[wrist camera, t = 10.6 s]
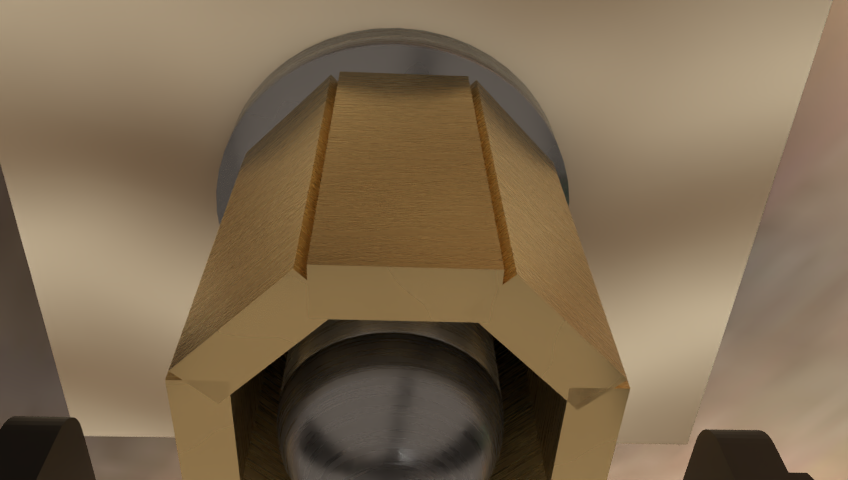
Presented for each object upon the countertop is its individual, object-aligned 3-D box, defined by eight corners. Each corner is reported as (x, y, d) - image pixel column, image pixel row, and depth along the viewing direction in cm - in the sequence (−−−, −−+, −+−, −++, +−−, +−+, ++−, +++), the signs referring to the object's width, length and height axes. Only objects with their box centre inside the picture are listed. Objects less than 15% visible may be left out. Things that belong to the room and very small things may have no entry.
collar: (235, 67, 14) (144, 260, 9) (569, 80, 14) (660, 273, 9) (257, 329, 17) (199, 577, 12) (529, 335, 18) (580, 579, 13)
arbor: (208, 21, 15) (45, 281, 8) (585, 34, 15) (736, 297, 8) (239, 317, 18) (146, 664, 12) (538, 324, 19) (615, 665, 12)
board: (-66, -251, 14) (-113, -247, 12) (852, -202, 14) (896, -194, 13) (94, 394, 22) (75, 435, 20) (671, 403, 22) (687, 444, 21)
